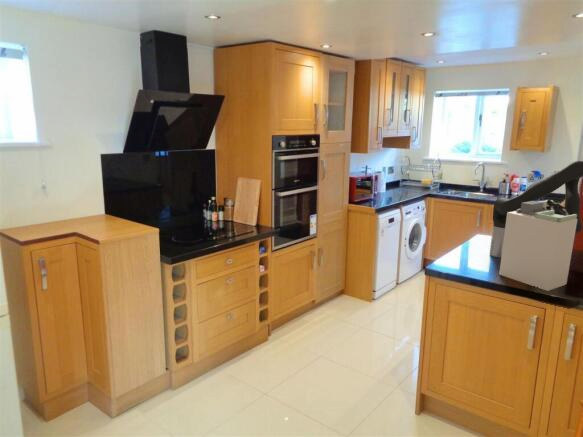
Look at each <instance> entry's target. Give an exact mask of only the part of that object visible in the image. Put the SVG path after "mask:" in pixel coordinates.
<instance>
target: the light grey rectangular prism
mask: <svg viewBox="0 0 583 437" xmlns="http://www.w3.org/2000/svg"><path fill="white" fill-rule="evenodd" d="M547 200H548V199H544V201H540V200H539V201H538V200H536V201H529V202H523V203H522V204H521V211H520V213H524V214H529V215H530V212H534V211H540V210H544V208H543V207H547V206H549V205H548V204H547ZM550 200H551V201H552V202H554V200H552V199H550Z"/></svg>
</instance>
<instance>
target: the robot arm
mask: <svg viewBox="0 0 583 437" xmlns="http://www.w3.org/2000/svg"><path fill="white" fill-rule="evenodd" d="M581 178H583V161H582V160H575V161H572V162H570V163H569V164H568V165H567V166H565V167H564V168H562V169H561V170H558V171H556V172H555V173H551V174H549V175H547V176H545V177H542V178H540V179H538V180H536V181H535V182H533V183H530V185H528V187H527V188H526V189H525V190H524V191H523V192H522V193H521V194H519V195H516V197H513V198H507V197H499V198H497V199H496V200H495V201H494V203H493V209H492V210H493V211H492V223H493V225H492V235H491V239H490V240H491V241H490V248H489V256H491V257H494V258H495V257H496V258H500V259H501V256H502V249H503V241H504V233H505V226H506V218H507V212H513V211H517V209H521V204H522V203H523V202H529V201H538V200H539V201H544V200H545V198H544V197H546V196H548V195H550V194H552V193H553V192H555V191H556V190H558V189H559V188H561V187H562V186H563V185H564V188H565V190H564V191H565V192H564V193H565V195H564V196H565V199H564V205H561V204H559V203H558V202H557V203H556V202H554V201H553V202H552V201H551V200H552V199H546V200H547V204H548V205H549V206H547V207H543V210H547V211H550V210H555V211H554V214H558V215H563V216H568V215H573V214H577V218H576V219H577V225H576V231H575V234H579V233H581V232H582V231H583V222H582V220H581V212H580V211H581V196H580V193H579V182H580V179H581Z"/></svg>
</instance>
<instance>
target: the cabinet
mask: <svg viewBox="0 0 583 437" xmlns="http://www.w3.org/2000/svg"><path fill="white" fill-rule="evenodd" d="M520 211H521V209H517V211H513V212H507V218H506V226H505V233H504V241H503V249H502V256H501V258H500V263H499V264H500V265H499V274H498V275H500V276H503V277H504V278H508V279H511V280H514V281H516V282H517V281H518V282H519V283H523V284H527V285H529V286H532V287H534V286H535V288H537V287H538V288H537V289H539V290H540V289H541V290H543V291H547V292H549V291H551V290H555V289H557V288H560V287H562V286H565V285H567V283H568V276H569V271H570V265H571V259H572V254H573V253H572V252H573V248H574V242H575V235H576V233H575V231H576V225H577V219H576V218H577V214H573V215H568V216H563V215H558V214H554V211H555V210H550V211H547V210H545V209H543V210H540V211H534V212H530V215H529V214H524V213H520Z"/></svg>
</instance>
